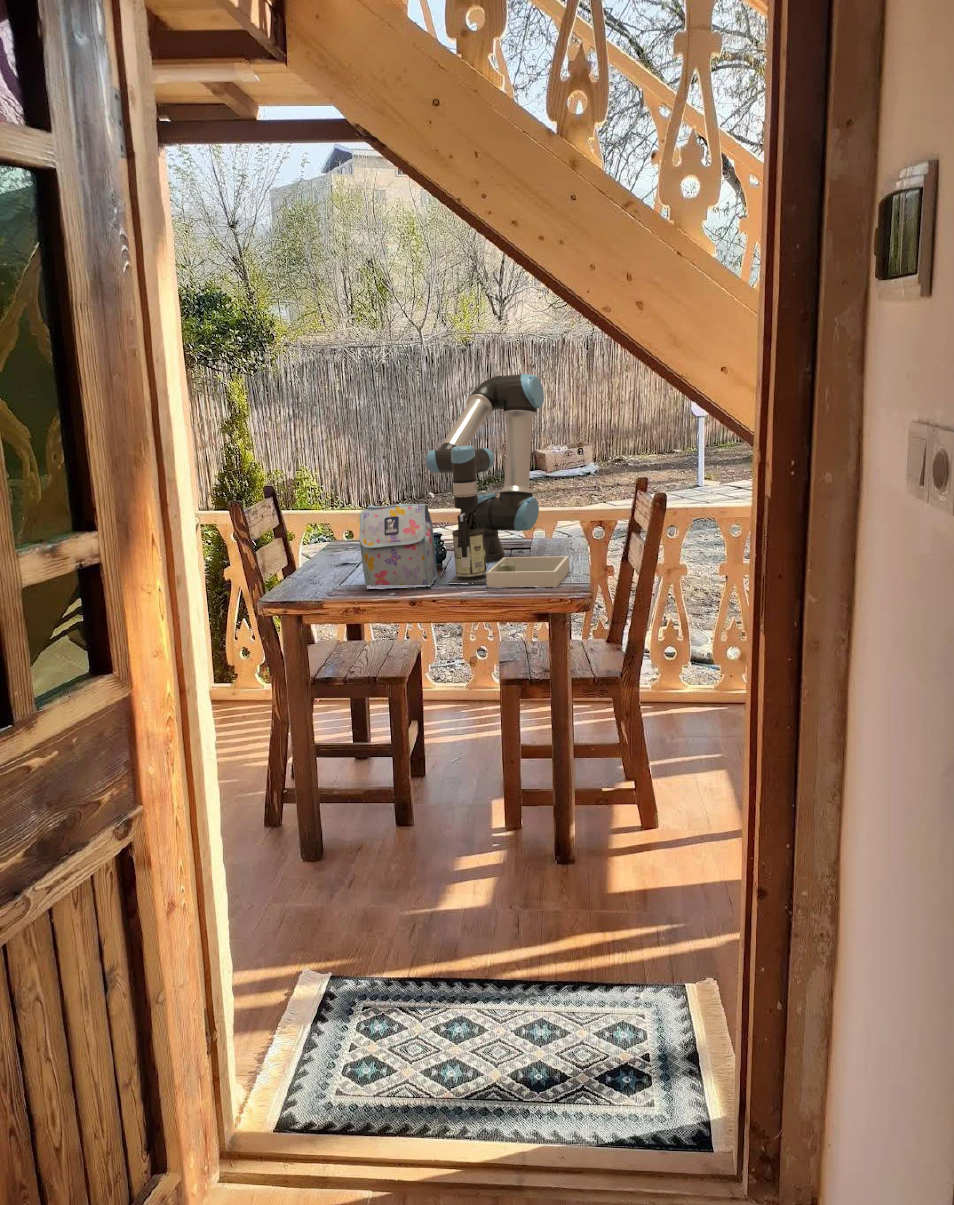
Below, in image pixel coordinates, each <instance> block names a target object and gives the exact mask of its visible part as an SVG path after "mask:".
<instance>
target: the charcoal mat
mask: <svg viewBox="0 0 954 1205" xmlns="http://www.w3.org/2000/svg"><path fill="white" fill-rule="evenodd" d="M486 582H487V577H486V573H485V574H483V575H479V576H470V577H462V576H457V575H455V576H454V577H453V578H452V579H450V580H449V581H448V584H449V583H468V584H472V583H473V584H485V585H487V583H486Z"/></svg>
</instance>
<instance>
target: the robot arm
mask: <svg viewBox="0 0 954 1205" xmlns="http://www.w3.org/2000/svg"><path fill="white" fill-rule="evenodd" d="M544 392H545V390H544V387H543V384H542V382H541V380H540V378H539V377H538V376H537V375H536V374H532V373H531V374H530V373H529V374H528V373H526V374H525V373H522V374H520V373H518V374H508V375H495V376H491V377H489V378H487V379H486V380H484V381H483V382H481V383H480V384H479V385H478V386H476V388H474V390H472V392H471V393H470V394H469V396H468V398H467V399H466V406H465V408H464V410H463V411H462V412H461V413H460V416H459V417H458V419H457V421H456V422H455V424H454V425H453V427H452V428H451V430H450V431H449V432H448V434H447V436H446V438H445V439H444V440H443V442H442V444H441V445H440V447H439V448H438V449H433V450H430V451H428V452H427V453H426V457H425V464H426V468H427V469H428V471H429V472H430V473H437V474H452V489H453V495H454V497H453V501H454V502H453V503H454V508H455V509H459V510H460V513H459V515H457V521H458V522H457V523H458V524H457V526H458V528H457V530H458V545H457V547H460V550H461V564H462V567H471V566H470V552H469V547H468V534H467V533H469V529H475V528H481V529H484V542H485V556H486V563H491V562H497V561H498V562H499V561H500V560H501V559H502V558H503V557H506V556H505V551H504V550H505V549H504V548H503V545H502V543H501V540H500V536H499V531H505V532H506V531H508V532H511V531H512V532H521V531H522V532H523V531H524V532H525V531H530V530H531V529H532V528H534V526H535V524H536V523H537V520H538V517H539V513H540V512H539V511H540V506H539V501H538V499H537V498H536V497H535V496H534V492H533V491H532V490H531V489H530V475H531V474H530V473H531V451H532V450H531V449H532V431H533V430H532V428H533V419H534V417H537V414H538V409H540V408H542V407H543V405H544V403H545V402H544V401H545V393H544ZM498 410H503V414H504V416H505V417H506V418H507V423H506V442H505V443H506V444H505V445H506V446H505V447H506V449H505V464H504V465H505V467H504V486H503V488H502V489H500V491H499V496H497V493H495V492H486V493H481V494H478V488H479V484H477V474H481V473H485V472H487V471H489V470H491V469H492V468H493V466H494V465H495V456H494V453H493V451H491V450H490V449H489V448H486V447H481V448H479V447H478V448H474V446H472V445H469V444H470V443H471V441H472V440H473V437H474V436H475V435H476V433H477V431H478V430H479V428H480V426H481V424H482V423H483V422H484V420H485V419H486V418H487V417H490V415H491V414H492V412H494V411H498ZM466 534H467V535H466ZM463 542H464V543H463Z"/></svg>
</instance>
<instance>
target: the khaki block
mask: <svg viewBox="0 0 954 1205" xmlns="http://www.w3.org/2000/svg"><path fill="white" fill-rule="evenodd" d="M500 572H515V563H508V564H502V565H501V566H500Z"/></svg>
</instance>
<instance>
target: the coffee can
mask: <svg viewBox="0 0 954 1205" xmlns="http://www.w3.org/2000/svg"><path fill="white" fill-rule="evenodd" d="M451 534H452V541H453V542H452V543H453V554H454V555H453V556H454V566H455V576H462V577H470V576H479V575H483V574H486V572H487V571H488V570H487V562H486V556H485V542H484V529H481V528H475V529H469V533H467V534H468V547H469V552H470V566H471V567H462V564H461V550H460V547H457V545H458V529H455V530H453V531H452V532H451ZM467 534H466V535H467ZM463 543H464V542H463Z"/></svg>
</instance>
